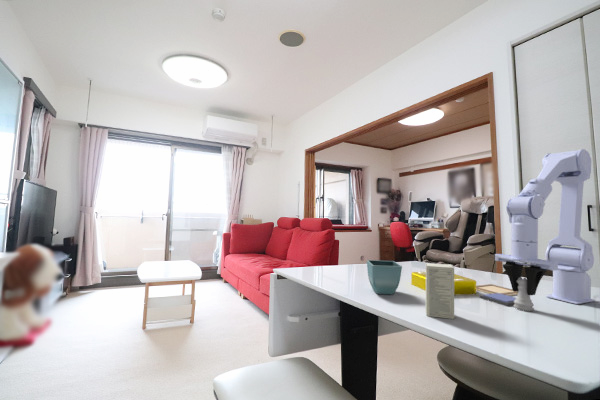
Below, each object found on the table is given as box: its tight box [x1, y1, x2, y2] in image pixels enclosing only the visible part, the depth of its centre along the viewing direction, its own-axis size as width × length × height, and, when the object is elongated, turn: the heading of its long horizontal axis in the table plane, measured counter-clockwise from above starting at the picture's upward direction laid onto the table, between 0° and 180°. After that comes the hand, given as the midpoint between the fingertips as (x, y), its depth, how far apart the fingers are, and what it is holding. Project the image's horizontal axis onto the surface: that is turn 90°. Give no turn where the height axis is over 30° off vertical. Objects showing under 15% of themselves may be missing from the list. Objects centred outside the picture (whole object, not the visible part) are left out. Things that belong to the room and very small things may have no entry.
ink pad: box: [479, 293, 517, 307], centre depth 89 cm, size 8×8×1 cm
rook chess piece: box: [512, 276, 535, 312], centre depth 82 cm, size 4×4×8 cm
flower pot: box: [366, 259, 403, 295], centre depth 94 cm, size 9×9×9 cm
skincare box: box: [425, 262, 455, 320], centre depth 75 cm, size 6×4×12 cm
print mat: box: [476, 283, 518, 297], centre depth 100 cm, size 11×11×1 cm
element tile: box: [410, 270, 477, 296], centre depth 101 cm, size 15×15×5 cm
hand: (523, 292), depth 82 cm, fingers closed on rook chess piece, 3 cm apart
